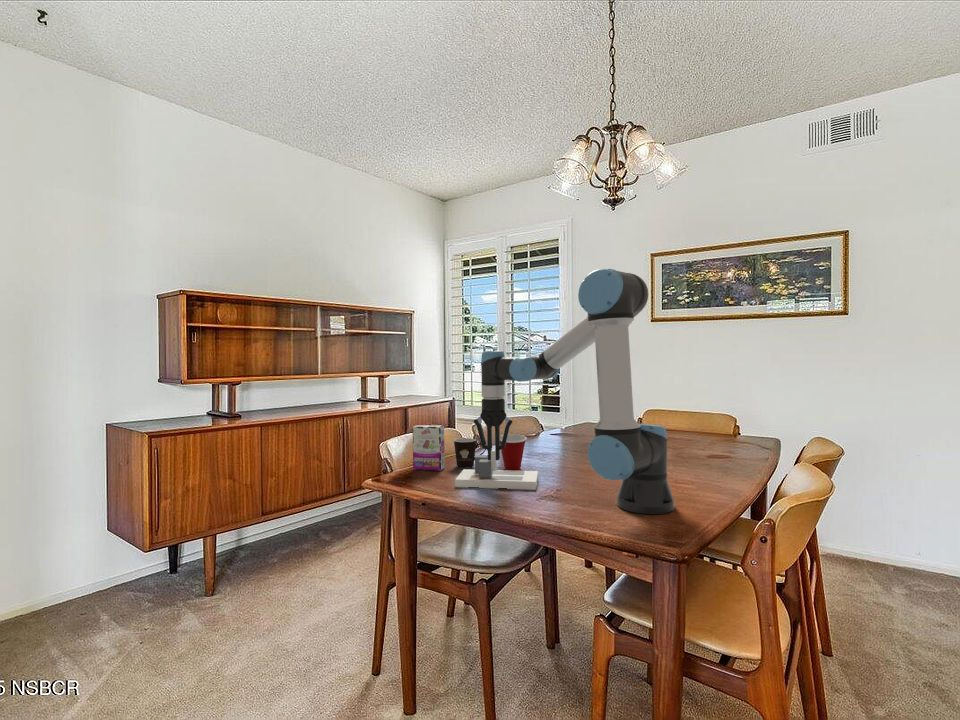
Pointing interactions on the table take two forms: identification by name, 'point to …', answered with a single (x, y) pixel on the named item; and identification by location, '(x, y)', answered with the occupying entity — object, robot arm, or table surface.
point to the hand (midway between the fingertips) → (493, 469)
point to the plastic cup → (513, 451)
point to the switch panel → (498, 479)
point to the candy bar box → (428, 447)
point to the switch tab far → (477, 459)
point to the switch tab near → (485, 468)
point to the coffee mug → (465, 451)
